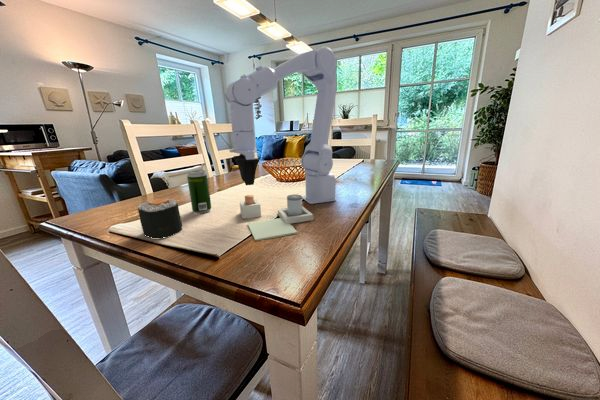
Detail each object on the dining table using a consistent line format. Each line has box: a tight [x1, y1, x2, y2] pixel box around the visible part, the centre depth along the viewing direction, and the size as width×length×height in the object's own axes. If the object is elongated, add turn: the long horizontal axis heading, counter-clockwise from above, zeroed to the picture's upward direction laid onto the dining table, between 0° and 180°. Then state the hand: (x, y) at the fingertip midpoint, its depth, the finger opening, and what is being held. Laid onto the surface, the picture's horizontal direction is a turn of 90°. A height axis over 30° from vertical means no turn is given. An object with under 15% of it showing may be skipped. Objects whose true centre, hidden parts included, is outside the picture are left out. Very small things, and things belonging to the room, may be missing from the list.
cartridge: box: [286, 193, 303, 217], centre depth 67 cm, size 4×4×6 cm
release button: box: [244, 194, 255, 205], centre depth 70 cm, size 2×2×2 cm
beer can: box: [186, 169, 212, 215], centre depth 73 cm, size 5×5×12 cm
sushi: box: [136, 198, 183, 239], centre depth 60 cm, size 8×8×8 cm
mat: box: [247, 217, 298, 242], centre depth 61 cm, size 10×10×1 cm
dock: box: [277, 205, 314, 225], centre depth 68 cm, size 8×8×2 cm
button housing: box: [239, 199, 262, 219], centre depth 70 cm, size 5×5×4 cm
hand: (247, 182), depth 68 cm, fingers open, 5 cm apart
